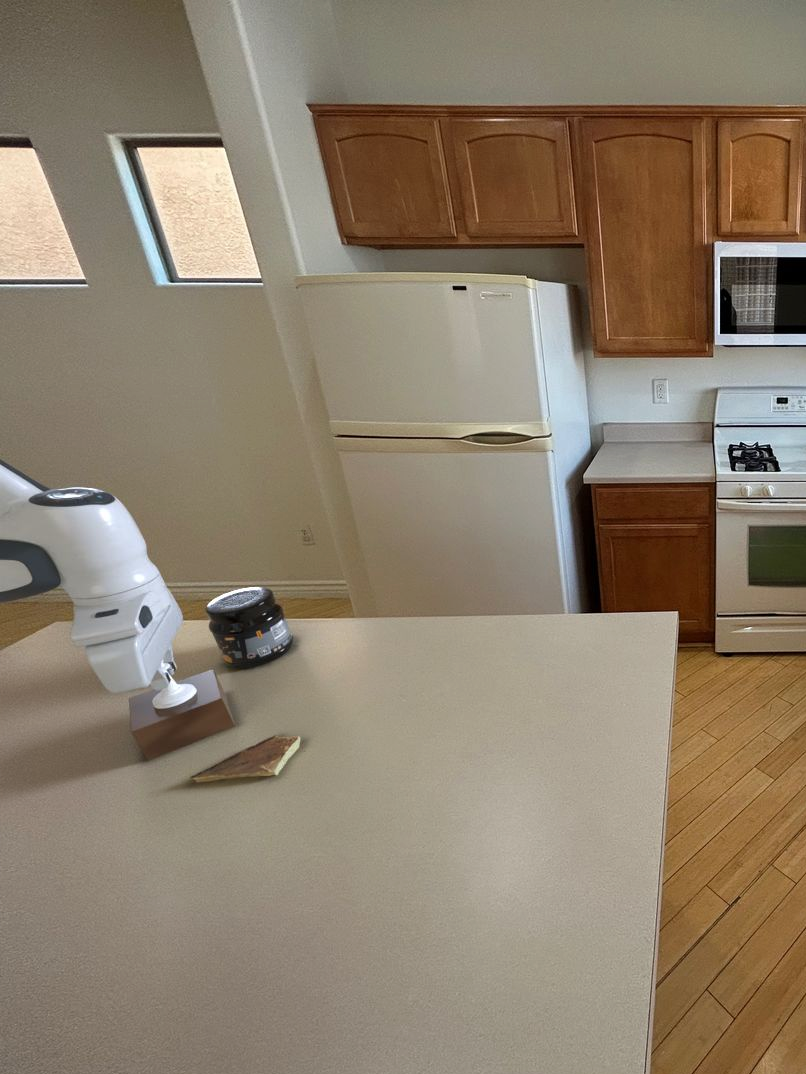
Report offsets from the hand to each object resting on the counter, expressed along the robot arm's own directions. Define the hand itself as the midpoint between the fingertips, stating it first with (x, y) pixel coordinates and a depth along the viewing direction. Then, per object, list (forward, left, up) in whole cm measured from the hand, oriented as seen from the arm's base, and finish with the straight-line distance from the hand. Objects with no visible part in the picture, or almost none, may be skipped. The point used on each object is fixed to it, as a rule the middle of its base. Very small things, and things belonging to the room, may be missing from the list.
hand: (166, 679), depth 83 cm
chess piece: (0, 0, -4) cm, 4 cm away
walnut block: (0, 0, -10) cm, 10 cm away
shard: (+10, -15, -10) cm, 21 cm away
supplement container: (+7, +18, -10) cm, 22 cm away
